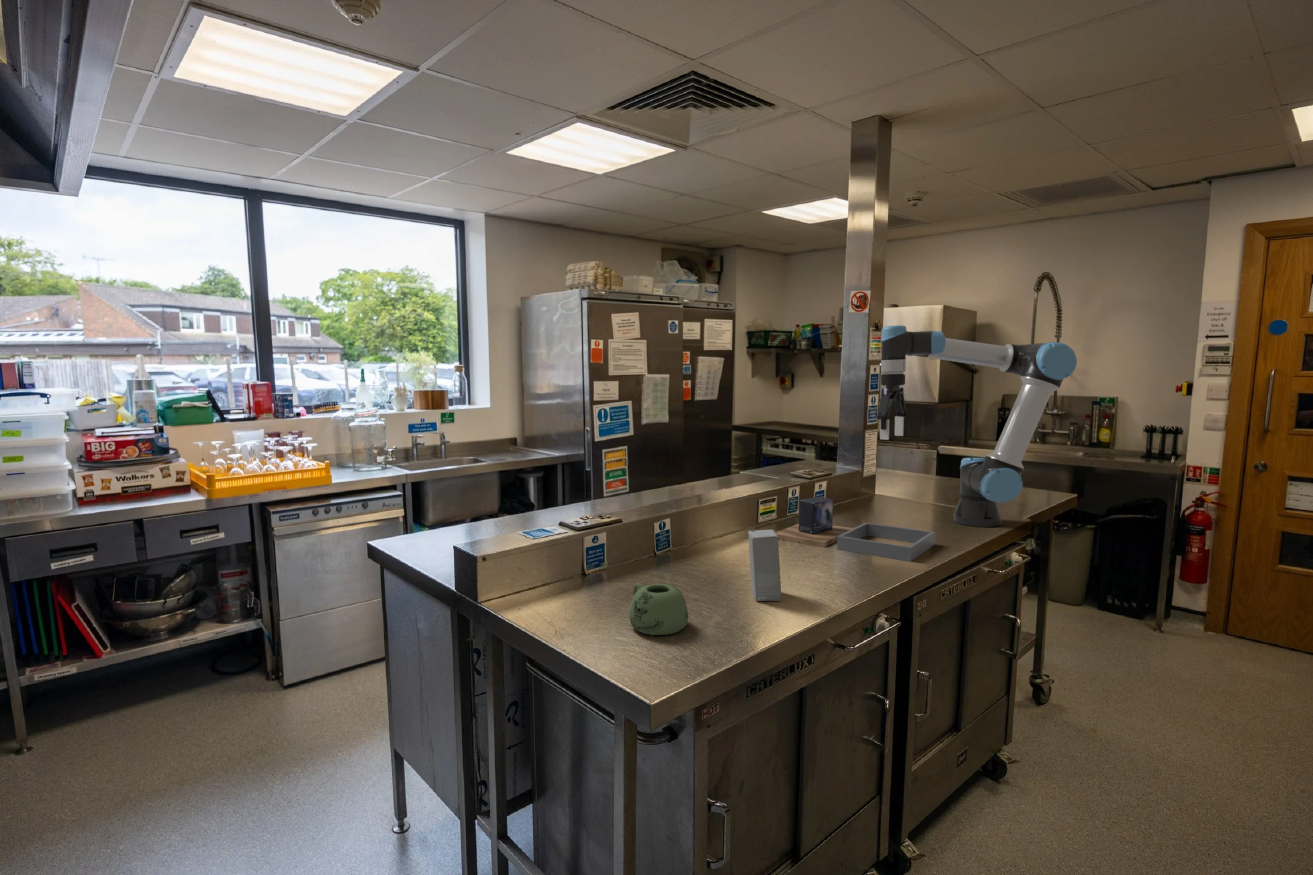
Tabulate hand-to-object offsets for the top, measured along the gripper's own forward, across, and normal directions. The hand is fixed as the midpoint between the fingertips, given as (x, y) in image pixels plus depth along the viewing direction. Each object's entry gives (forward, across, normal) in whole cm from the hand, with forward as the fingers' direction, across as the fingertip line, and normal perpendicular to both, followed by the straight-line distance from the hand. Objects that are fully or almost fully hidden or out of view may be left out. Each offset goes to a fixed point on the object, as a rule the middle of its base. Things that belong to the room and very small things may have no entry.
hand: (891, 437), depth 216 cm
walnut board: (+32, +20, -18) cm, 42 cm away
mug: (+32, +110, -12) cm, 115 cm away
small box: (+30, +19, -18) cm, 40 cm away
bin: (+32, +20, +6) cm, 38 cm away
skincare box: (+32, +80, -2) cm, 86 cm away
